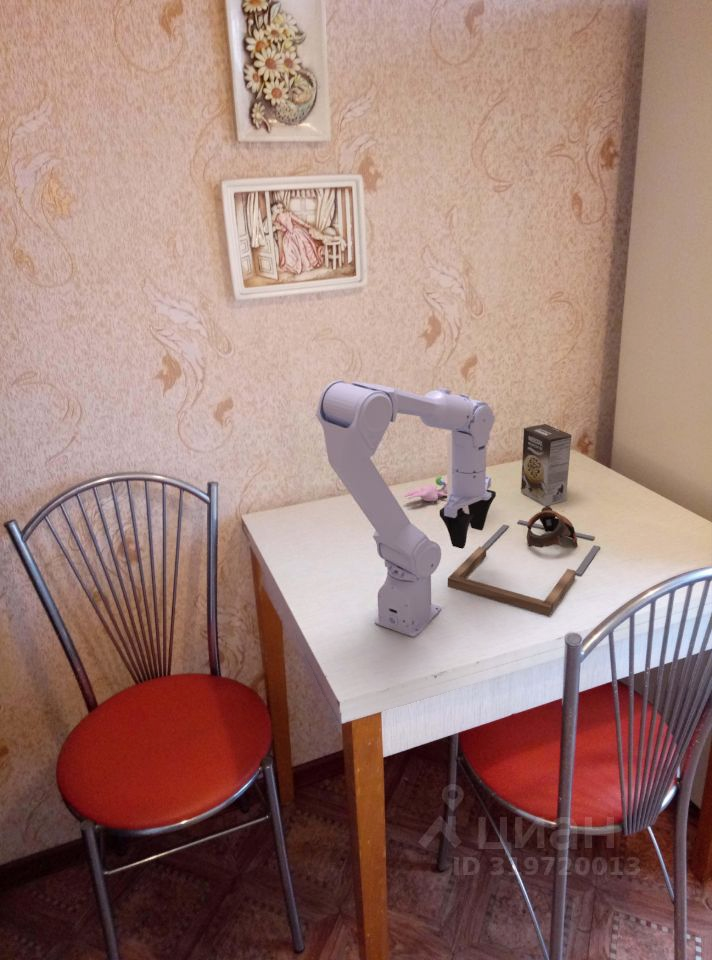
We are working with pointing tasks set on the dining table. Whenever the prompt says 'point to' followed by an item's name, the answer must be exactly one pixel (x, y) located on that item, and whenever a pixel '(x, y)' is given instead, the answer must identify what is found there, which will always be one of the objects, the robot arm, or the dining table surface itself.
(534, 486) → the coffee box
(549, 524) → the pottery mug
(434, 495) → the rabbit figure
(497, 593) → the walnut holder
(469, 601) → the dining table surface
